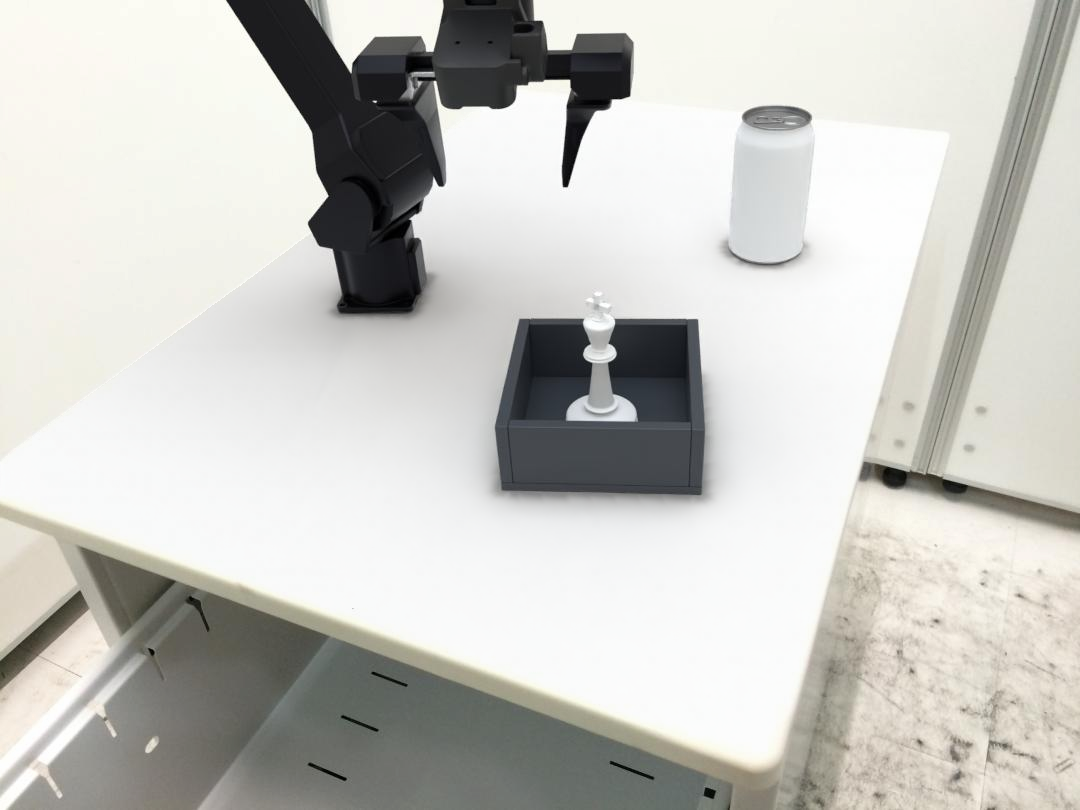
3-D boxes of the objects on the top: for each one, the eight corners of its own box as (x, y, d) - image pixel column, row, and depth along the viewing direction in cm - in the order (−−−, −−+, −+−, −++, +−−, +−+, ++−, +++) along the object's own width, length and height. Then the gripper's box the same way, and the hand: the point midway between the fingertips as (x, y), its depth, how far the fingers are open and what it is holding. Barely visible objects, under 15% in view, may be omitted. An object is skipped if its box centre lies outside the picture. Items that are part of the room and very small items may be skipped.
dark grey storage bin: (501, 490, 60) (494, 426, 57) (524, 376, 70) (519, 318, 67) (701, 494, 58) (705, 430, 55) (695, 378, 68) (698, 318, 65)
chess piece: (594, 392, 67) (590, 267, 61) (652, 416, 64) (654, 288, 58) (550, 427, 64) (542, 299, 58) (609, 454, 61) (607, 323, 55)
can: (802, 267, 81) (819, 131, 74) (726, 264, 82) (734, 130, 75) (801, 233, 86) (816, 103, 79) (729, 231, 87) (737, 102, 80)
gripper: (305, -11, 55) (350, 233, 64) (627, -18, 52) (625, 236, 62) (357, -52, 63) (390, 168, 73) (635, -60, 61) (632, 168, 70)
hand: (503, 185), depth 69 cm, fingers open, 9 cm apart
